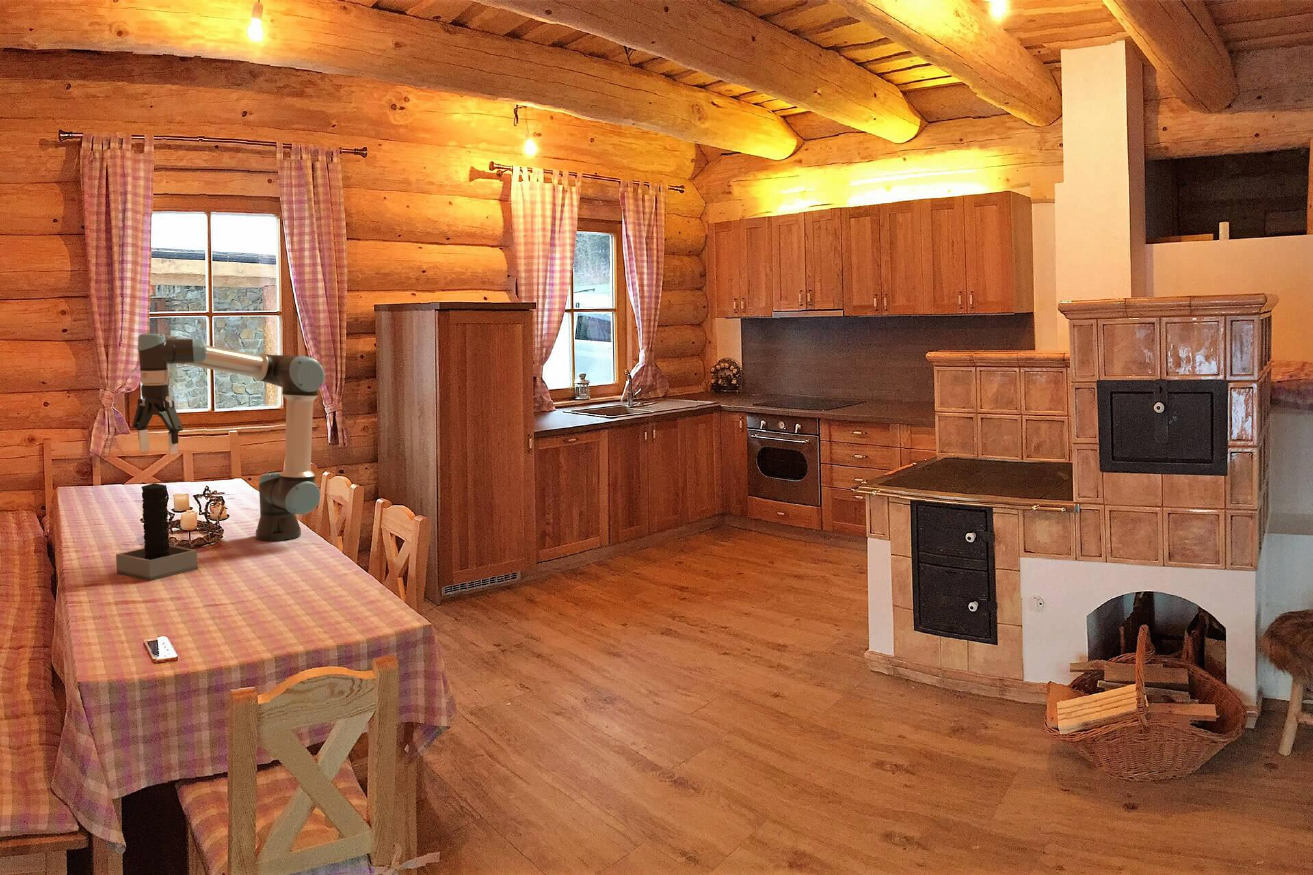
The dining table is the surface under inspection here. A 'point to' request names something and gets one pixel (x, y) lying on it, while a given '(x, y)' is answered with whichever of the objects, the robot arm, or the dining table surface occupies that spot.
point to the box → (156, 563)
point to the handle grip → (155, 521)
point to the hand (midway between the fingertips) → (159, 452)
